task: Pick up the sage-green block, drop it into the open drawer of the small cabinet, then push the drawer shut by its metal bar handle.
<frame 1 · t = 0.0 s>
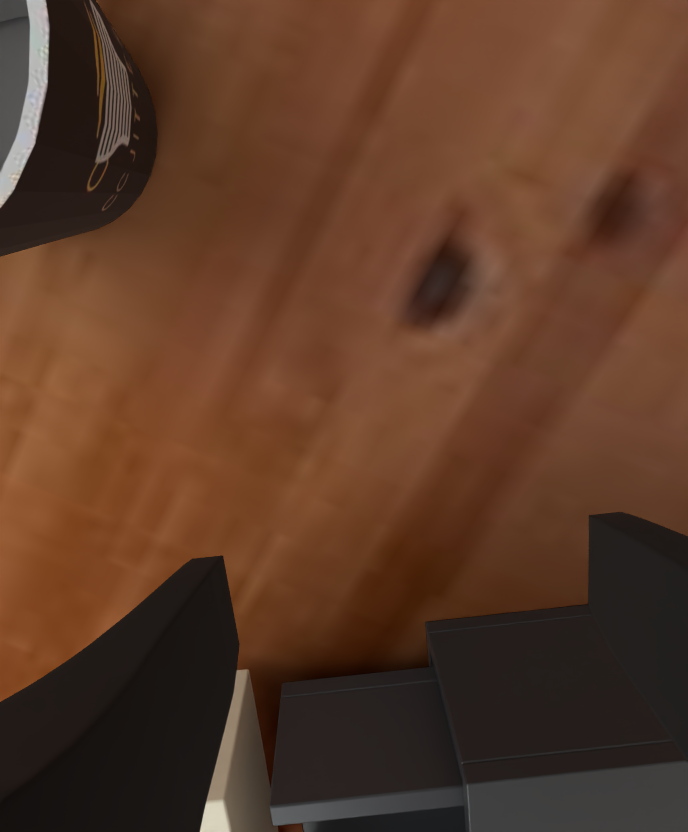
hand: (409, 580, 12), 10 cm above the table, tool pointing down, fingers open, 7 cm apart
drawer: (339, 829, 22), point 4 cm above the table, slide at 7.0 cm
small cabinet: (592, 719, 25), on the table
coffee mug: (74, 80, 18), on the table
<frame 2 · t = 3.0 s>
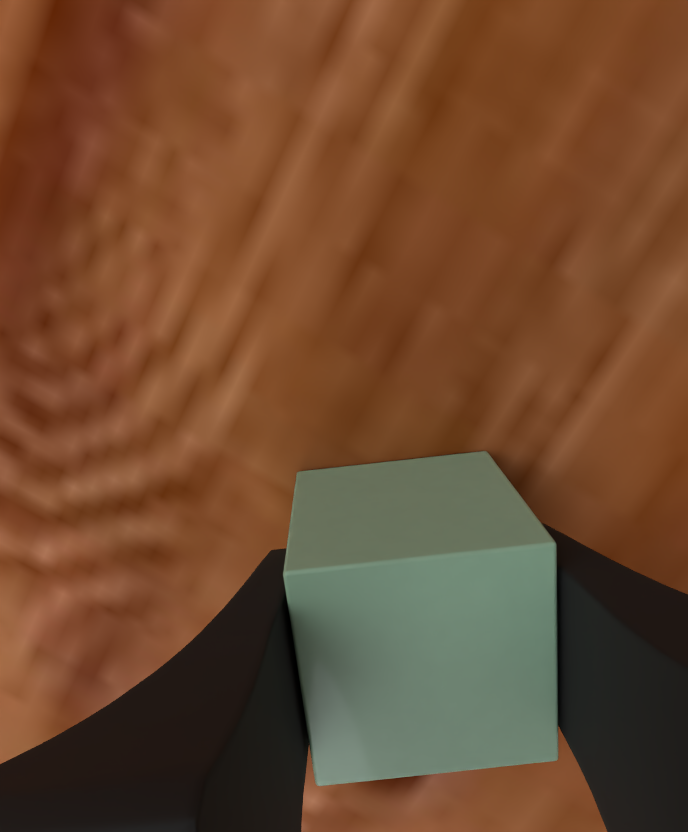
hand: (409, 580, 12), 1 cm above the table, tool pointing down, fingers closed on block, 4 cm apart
block: (399, 545, 13), on the table, touching gripper
when the fingers open (5 cm above the table, at t = 8.3 s): block drops 2 cm, resting on drawer.
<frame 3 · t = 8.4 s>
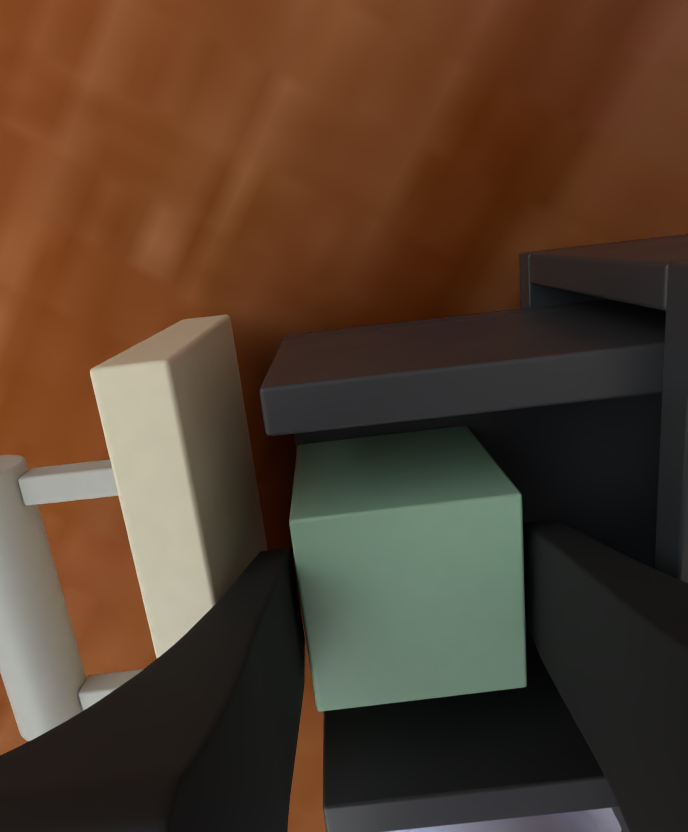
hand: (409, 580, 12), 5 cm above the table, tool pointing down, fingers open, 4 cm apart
drawer: (380, 552, 13), point 4 cm above the table, slide at 7.1 cm, touching block, gripper
block: (389, 512, 14), point 2 cm above the table, touching drawer
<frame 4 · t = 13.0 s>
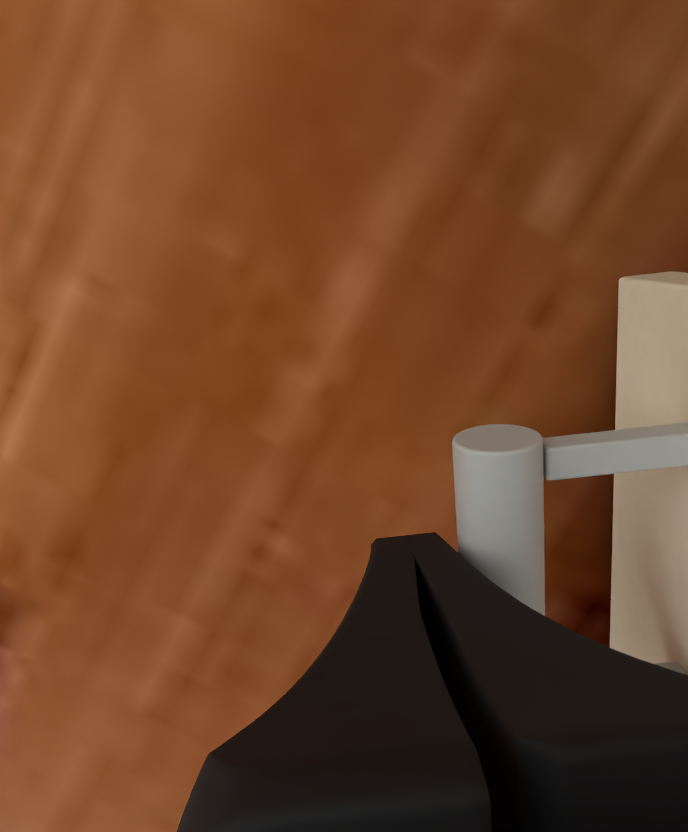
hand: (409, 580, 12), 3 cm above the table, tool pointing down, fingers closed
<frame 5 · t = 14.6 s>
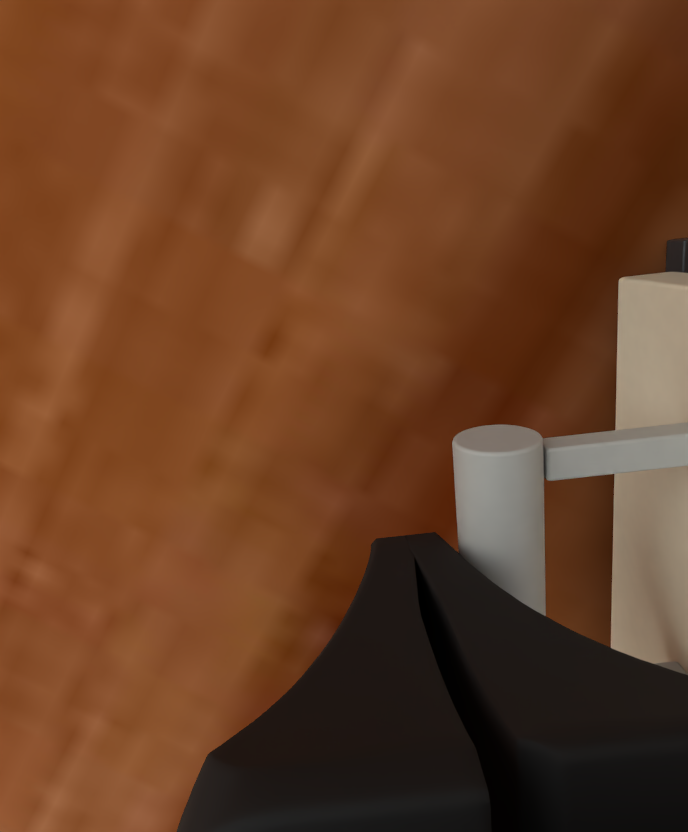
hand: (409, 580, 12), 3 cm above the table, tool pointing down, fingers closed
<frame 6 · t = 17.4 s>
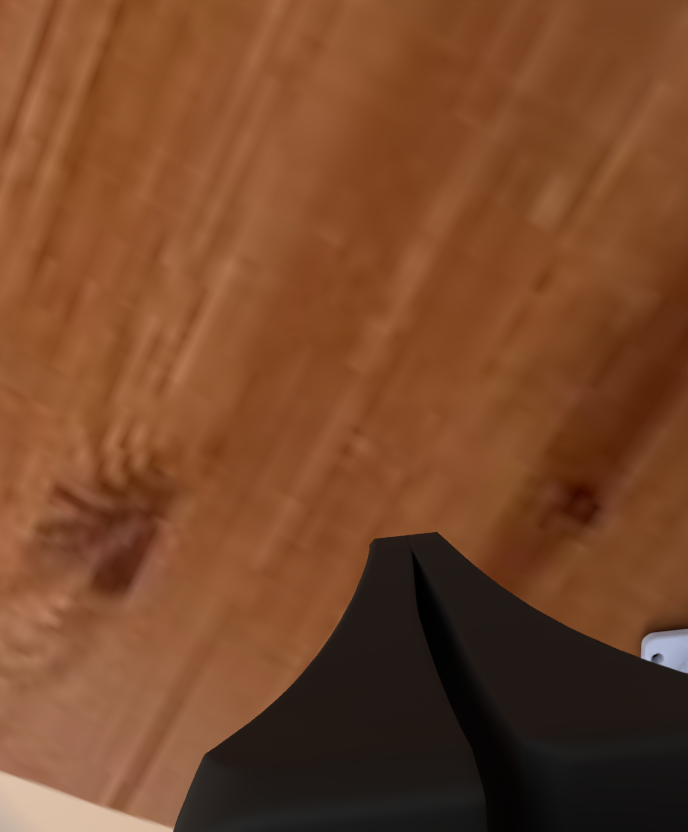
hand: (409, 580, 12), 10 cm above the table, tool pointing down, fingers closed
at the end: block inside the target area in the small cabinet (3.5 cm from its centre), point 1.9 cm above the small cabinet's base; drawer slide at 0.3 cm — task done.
